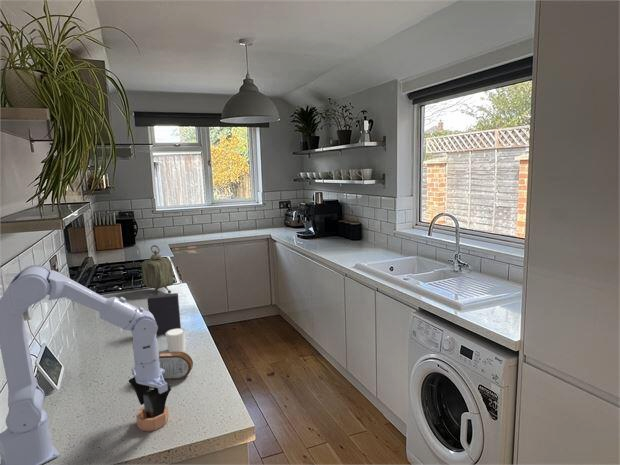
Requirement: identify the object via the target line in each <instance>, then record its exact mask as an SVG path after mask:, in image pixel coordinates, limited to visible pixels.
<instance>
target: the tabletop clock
mask: <svg viewBox="0 0 620 465" xmlns="http://www.w3.org/2000/svg"><path fill="white" fill-rule="evenodd" d="M153 247H155V248H157V250H158V251H157V250H153ZM150 249H151V252H152V253H153V254H152V255H151V256H150V259H145V260H144V261H142V262H141V265H140V266H141V277H142V281H143V282H142V283H143V285H145V287H149V288H152V289H154V291H153V295H158V293H157V292H158V290H159V289H162V288H164V289H165V290H166V291H167V294H172V291H171V289H169V288H168V287H169V286H172V285H174V271H173V269H174V268H173V264H172V260H170V259H169V258H166V257H162V256H161V255H160V254H159V253H160V252H161V251H160V250H161V249H160V247H158V245H155V244H154V245H152V246H151V247H150Z"/></svg>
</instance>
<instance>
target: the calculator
mask: <svg viewBox="0 0 620 465" xmlns="http://www.w3.org/2000/svg"><path fill="white" fill-rule="evenodd" d="M147 308H148V309H147V310H148V311H149V312H151V313H152V314H153V316H154V318H155V321H156V323H157V326H158V330H157V332H156V335H160V334H161V335H162V334H165V333H166V332H167V331H169V330H171V329H175V328H182V326H181V315H180V314H181V313H180V302H179V293H177V292H175V293H164V294H153V295H148V296H147Z"/></svg>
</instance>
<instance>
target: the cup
mask: <svg viewBox="0 0 620 465" xmlns="http://www.w3.org/2000/svg"><path fill="white" fill-rule="evenodd" d="M136 413H137V414H136V415H135V417H136V419H135V420H136V425H137V427H138V428H139V430H141V431H143V432H153V431H156V430H159V429H161V428H162V427H164V426H165V425H167V422H168V421H169V416H170V415H169V414H170V413H169V407H168V406H167V405H165V409H164V413H163V414H161V415H159V416H156V417H154V418H145V408H144V406H143V407H142V408H139V410H138V412H136Z"/></svg>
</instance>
